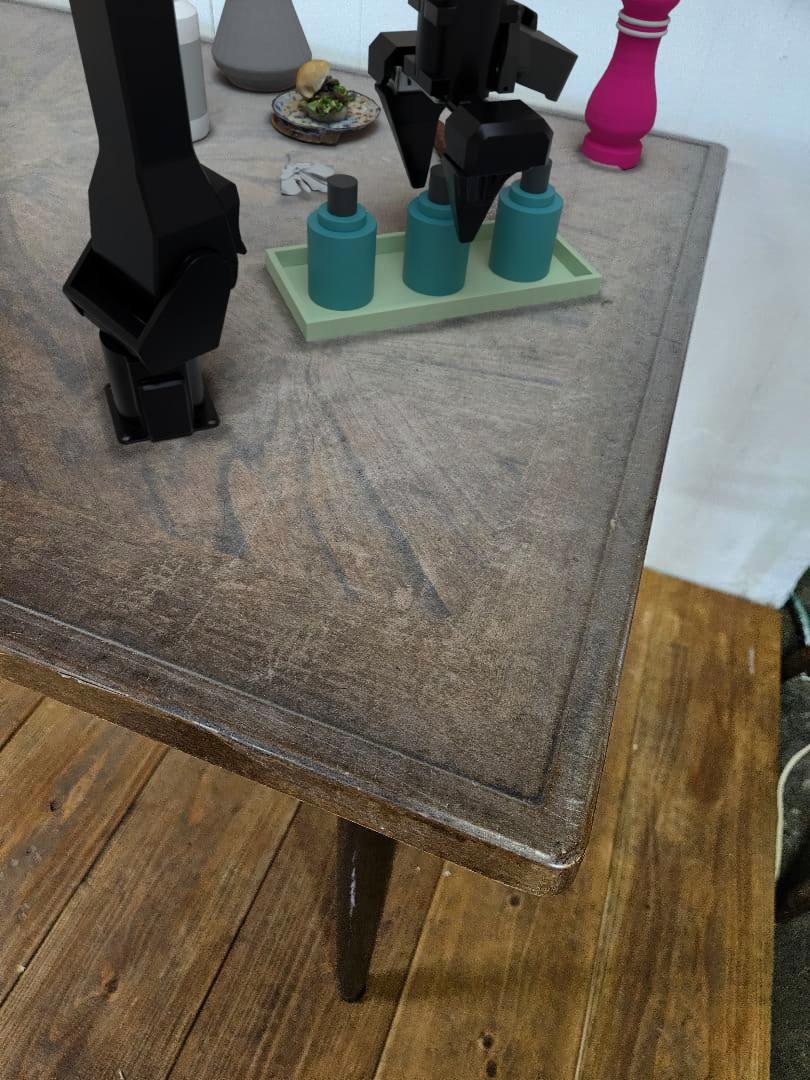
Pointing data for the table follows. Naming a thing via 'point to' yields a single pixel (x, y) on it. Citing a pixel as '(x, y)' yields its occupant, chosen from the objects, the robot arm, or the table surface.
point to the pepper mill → (627, 86)
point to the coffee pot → (260, 44)
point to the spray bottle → (192, 67)
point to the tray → (410, 307)
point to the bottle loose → (433, 242)
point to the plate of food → (321, 106)
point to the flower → (304, 177)
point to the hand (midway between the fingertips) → (440, 213)
